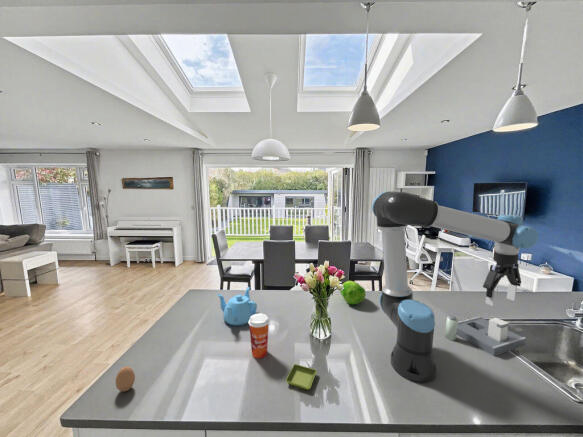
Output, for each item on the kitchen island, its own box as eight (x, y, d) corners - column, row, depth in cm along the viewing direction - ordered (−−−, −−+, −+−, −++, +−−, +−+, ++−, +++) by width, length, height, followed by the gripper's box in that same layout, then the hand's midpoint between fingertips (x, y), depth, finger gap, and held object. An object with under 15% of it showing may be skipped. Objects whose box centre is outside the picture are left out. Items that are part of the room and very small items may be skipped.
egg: (137, 389, 79) (136, 367, 78) (119, 399, 75) (116, 376, 74) (133, 380, 82) (131, 359, 81) (114, 390, 78) (112, 368, 77)
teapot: (216, 316, 124) (215, 293, 123) (249, 306, 135) (249, 285, 133) (227, 332, 110) (226, 307, 109) (263, 320, 120) (263, 297, 119)
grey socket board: (493, 355, 95) (494, 347, 94) (450, 330, 111) (450, 323, 111) (525, 345, 101) (526, 337, 101) (479, 322, 118) (480, 316, 118)
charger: (498, 347, 99) (501, 325, 98) (486, 341, 104) (489, 319, 103) (506, 345, 101) (508, 323, 100) (493, 339, 105) (496, 317, 104)
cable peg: (451, 341, 104) (453, 320, 102) (443, 336, 107) (444, 316, 106) (458, 339, 105) (460, 319, 104) (449, 334, 109) (451, 314, 107)
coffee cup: (250, 362, 91) (249, 325, 89) (248, 348, 99) (247, 314, 97) (271, 358, 93) (271, 322, 91) (268, 345, 101) (267, 311, 99)
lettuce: (359, 293, 152) (359, 274, 150) (367, 308, 132) (368, 288, 131) (337, 292, 153) (337, 274, 151) (342, 308, 133) (342, 287, 131)
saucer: (294, 368, 88) (294, 363, 88) (317, 375, 85) (317, 369, 85) (285, 386, 80) (285, 380, 80) (310, 394, 77) (310, 388, 77)
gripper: (496, 257, 90) (490, 311, 93) (536, 252, 98) (530, 301, 101) (475, 252, 97) (470, 302, 100) (514, 248, 105) (508, 294, 108)
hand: (500, 302), depth 100 cm, fingers open, 13 cm apart
